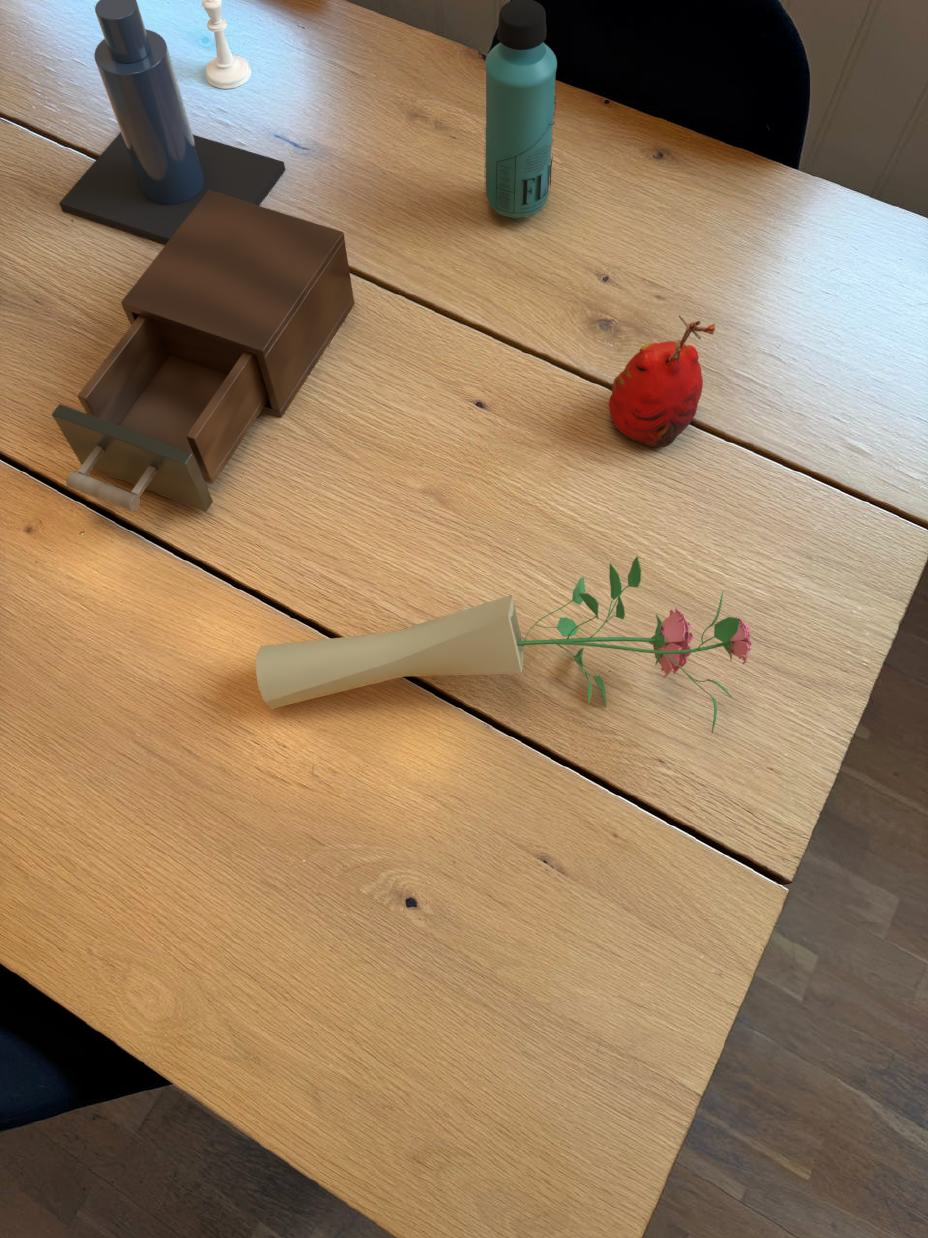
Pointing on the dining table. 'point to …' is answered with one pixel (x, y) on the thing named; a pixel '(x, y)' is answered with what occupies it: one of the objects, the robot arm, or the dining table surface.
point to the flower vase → (469, 648)
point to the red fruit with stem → (659, 390)
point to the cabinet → (251, 287)
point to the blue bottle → (147, 104)
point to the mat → (122, 204)
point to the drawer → (162, 415)
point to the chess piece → (223, 53)
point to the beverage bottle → (519, 111)
